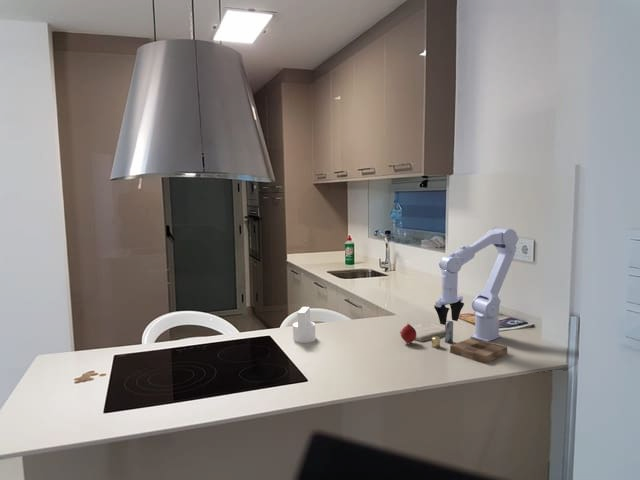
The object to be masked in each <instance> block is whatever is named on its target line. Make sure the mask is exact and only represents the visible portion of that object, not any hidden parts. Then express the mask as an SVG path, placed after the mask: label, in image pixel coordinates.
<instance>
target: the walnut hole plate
mask: <svg viewBox="0 0 640 480" xmlns="http://www.w3.org/2000/svg"><path fill="white" fill-rule="evenodd" d="M449 353H451V354H454V355H457V356H460V357H463V358H466V359H469V360H473V361H476V362H479V363H481V364H488V363H490V362H492V361H494V360H497V359H499V358H500V357H504V356H506V355H507V354H508V346H505V345H502V344H497V343H494V342H491V341H489V342H487V341H484V340H480V339H476V338H473V337H469V338H467V339H465V340H462V341H459V342H456V343H455V344H454V343H452V344H451V345H450V346H449Z"/></svg>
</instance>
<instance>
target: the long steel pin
mask: <svg viewBox="0 0 640 480" xmlns="http://www.w3.org/2000/svg"><path fill="white" fill-rule="evenodd" d="M444 328H445V336H444V343H446V344H454V321H453V320H446V325H444Z"/></svg>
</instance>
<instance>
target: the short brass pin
mask: <svg viewBox="0 0 640 480" xmlns="http://www.w3.org/2000/svg"><path fill="white" fill-rule="evenodd" d="M431 347H432V348H433V349H440V348H441V336H440V337H432V339H431Z"/></svg>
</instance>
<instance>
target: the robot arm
mask: <svg viewBox="0 0 640 480" xmlns="http://www.w3.org/2000/svg"><path fill="white" fill-rule="evenodd" d="M518 241H519V237H518V234H517V232H516V231H515V230H514V229H513V228H499V227H495V226H494V227H493V228H491V229H490V230H487V231H486V233H485V234H484V235H482V236H481V237H480V238H478V239H477V240H476V241H474V242H473V243H472V244H471V245H461V246H459V248H458V249H457V250H455V251H453V252H451V253H450V255H445V256H443V257H442V258H441V259H440V262H439V263H438V265H439V268H440V270H441V296H440V297H439V299H438V300H437V301H435V304H434V309H435V311H436V312H435V313H436V315H437V317H438V320H439V323H440V325H444V326H445V325H446V321H448V320H447V319H448V318H447V317H448V312H449V310H450V311H451V321H453V322H454V321H455V322H458V321H459V318H460V314H461V311H462V309H463V307H464V306H465V303H464V302H463V299H464V297H463V296H462V295H458V286H459V285H458V282H459V281H458V278H459V272H460V271H461V269H462V267H463V265H465V264H467V263H468V262H470V261H472V259H474V258H475V255H476V253H478V252H481V250H484V249H486V248H487V247H488V246H490V245H493V246H494V247H495V248H496V250H497V252H498V255H497V257H496V260H495V261H494V265H493V267H492V270H491V272H490V274H489V276H488V279H487V281H486V284H485V286H484V288H483V289H482V290H481V291H478V292H477V295H476V296H475V297H474V298H473V299H472V302H471V309H472V310H473V311H474V314H475V315H474V319H475V321H474V334H471V335H470V336H469V338H472V337H473V338H476V339H480V340H484V341H487V342H491V341H493V340H494V341H495V340H496V339H499V338H500V337H502V336H501V335H500V319H499V317H498V314H499V312H500V304H501V302H502V301H501V299H500V296H499V293H500V291H501V288H502V286H503V284H504V281H505V279H506V277H507V274H508V271H509V269H510V267H511V264H512V262H513V259H514V257H515V255H516V245H517V244H518ZM447 306H450V308H449V307H447Z"/></svg>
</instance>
